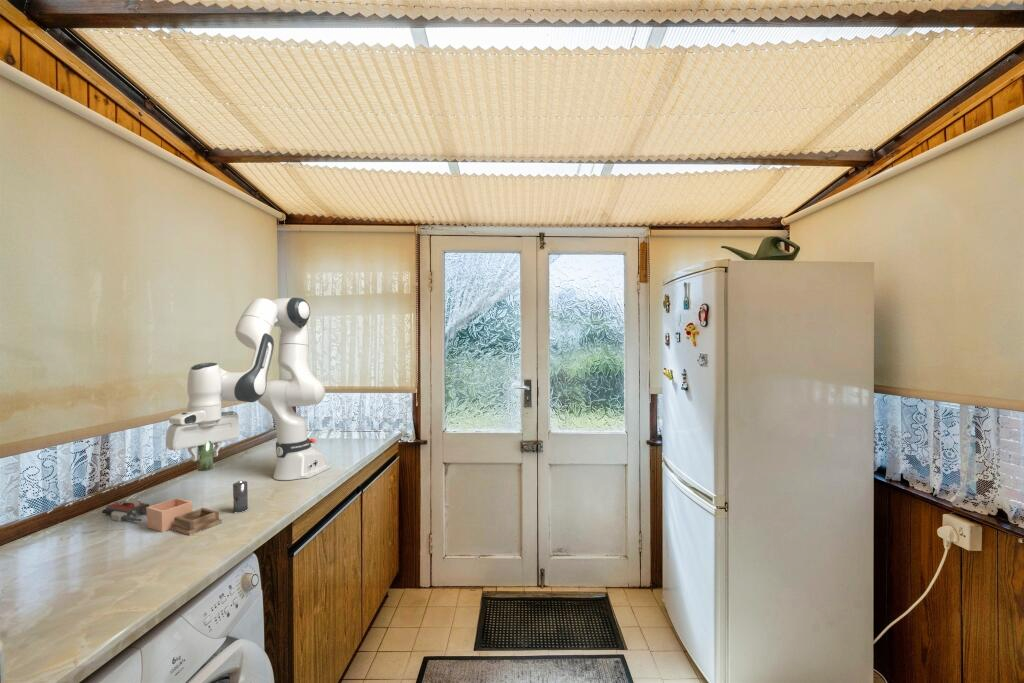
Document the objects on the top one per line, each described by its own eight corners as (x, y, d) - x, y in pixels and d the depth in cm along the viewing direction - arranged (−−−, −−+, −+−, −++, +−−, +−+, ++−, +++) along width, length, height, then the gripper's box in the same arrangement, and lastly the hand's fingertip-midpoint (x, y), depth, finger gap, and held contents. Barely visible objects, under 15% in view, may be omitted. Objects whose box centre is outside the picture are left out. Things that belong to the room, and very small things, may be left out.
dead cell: (242, 507, 147) (242, 478, 147) (250, 509, 145) (250, 480, 145) (230, 511, 143) (230, 482, 143) (238, 513, 142) (237, 484, 141)
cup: (177, 516, 140) (176, 497, 140) (192, 521, 136) (192, 501, 136) (147, 527, 133) (146, 507, 132) (162, 532, 129) (161, 511, 129)
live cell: (208, 467, 142) (208, 437, 142) (215, 468, 140) (215, 438, 140) (194, 470, 138) (194, 439, 139) (202, 471, 137) (202, 440, 137)
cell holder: (204, 517, 139) (203, 506, 139) (221, 522, 135) (221, 511, 135) (171, 529, 131) (171, 517, 131) (189, 535, 127) (189, 523, 127)
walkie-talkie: (93, 518, 140) (136, 526, 134) (93, 504, 140) (136, 511, 134) (125, 507, 149) (167, 514, 143) (125, 494, 149) (167, 501, 142)
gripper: (232, 409, 150) (232, 450, 150) (162, 418, 132) (162, 465, 132) (243, 410, 147) (244, 452, 147) (174, 420, 129) (174, 467, 129)
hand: (205, 458), depth 139 cm, fingers closed on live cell, 4 cm apart
